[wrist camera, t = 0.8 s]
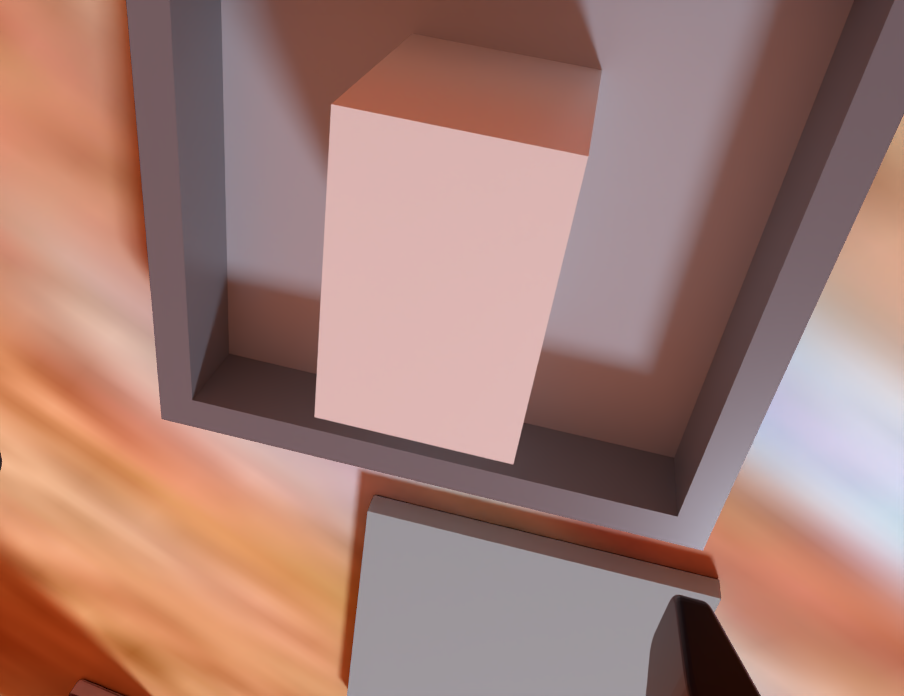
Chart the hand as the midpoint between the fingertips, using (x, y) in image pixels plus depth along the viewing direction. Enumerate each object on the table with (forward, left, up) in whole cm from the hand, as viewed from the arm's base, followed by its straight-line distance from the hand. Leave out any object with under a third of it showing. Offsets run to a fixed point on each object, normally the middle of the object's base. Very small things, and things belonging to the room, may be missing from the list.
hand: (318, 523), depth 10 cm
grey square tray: (0, 0, -13) cm, 13 cm away
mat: (-4, +18, -13) cm, 23 cm away
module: (0, 0, -12) cm, 12 cm away
